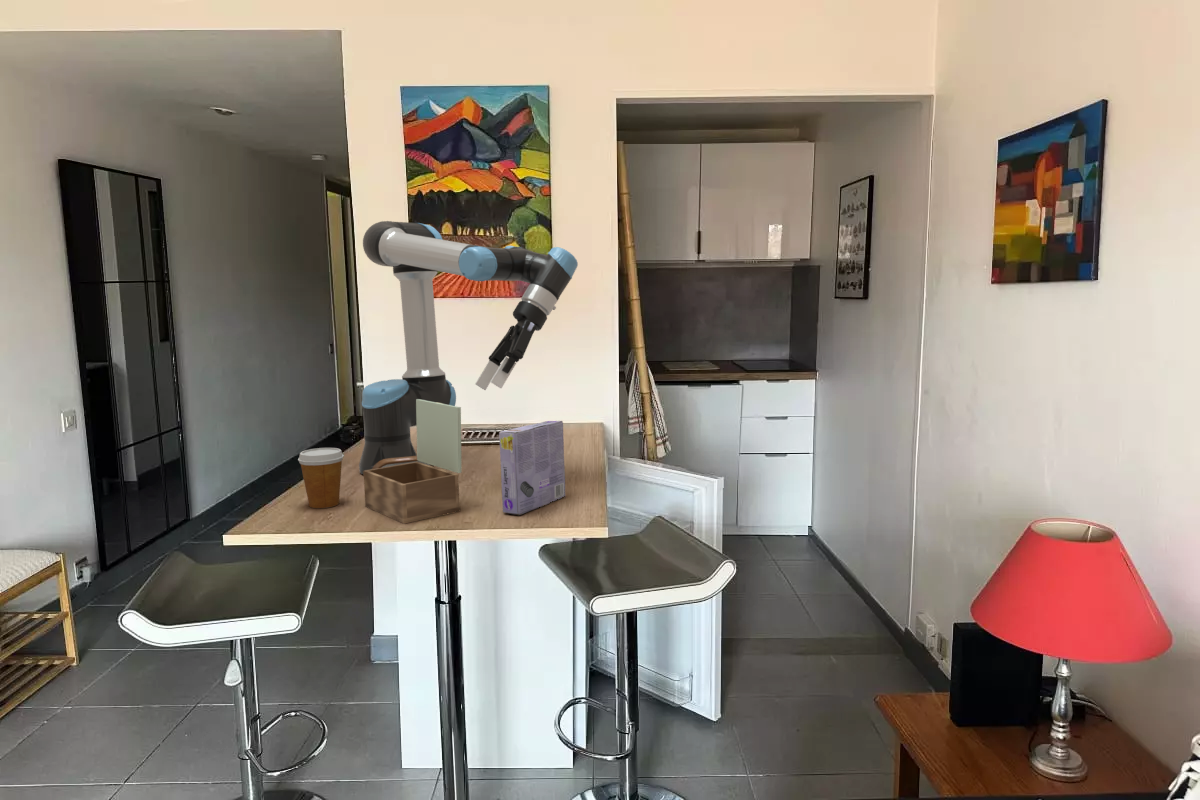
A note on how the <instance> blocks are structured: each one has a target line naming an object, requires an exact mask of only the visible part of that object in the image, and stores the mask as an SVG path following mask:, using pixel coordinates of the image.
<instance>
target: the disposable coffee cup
mask: <svg viewBox="0 0 1200 800" xmlns="http://www.w3.org/2000/svg"><path fill="white" fill-rule="evenodd" d="M344 456H345V455H344V454H343V452H342V450H341V449H340V448H337V447H319V448H318V447H317V448H310V449H306V450H303V451H301V452H299V457H298V459H297V461H298V462H299V464H300V468H301V471H302V478H303V482H304V487H305V491H306V493H305V494H306V497H307V498H306V499H307V502H308V507H310V508H311V509H312V508H313V509H327V508H332V507H336V506H338V505H339V504H340V494H341V493H340V491H341V478H342V477H341V476H342V462H343V458H344Z"/></svg>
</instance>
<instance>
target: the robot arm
mask: <svg viewBox="0 0 1200 800" xmlns="http://www.w3.org/2000/svg"><path fill="white" fill-rule="evenodd" d="M362 248H363V252H364V254H365V256H366V257H367V258H368V259H369V261H371V262H373V263H375V265H377V266H382V267H389V268H392V271H393V276H394V277H395V278H396V279H398V281H399V286H400V287H399V288H400V298H401V299H400V300H401V313H402V322H403V333H404V334H403V335H404V345H405V346H404V347H405V348H404V349H405V360H406V371H405V372H404V373H403V374H402V375H401V378H402V379H401V378H399V379H398V378H395V379H387V380H380V381H376V382H373V383H370V384H368V385H366V386H365V387H364V388H363V390H362V394H361V395H362V398H361V399H362V401H361V406H362V413H363V414H362V415H363V430H364V431H363V433H364V445H363V449H362V453H361V457H360V461H359V464H358V465H359V466H358V467H359V474H360V473H361V474H360V475H362V474H363V471H365V470H371V469H372V468H373V467H374V465H375V464H376V463H378V462H379V461H381V460H383V459H388V458H399V457H410V456H417V452H416V451H415V448H414V446H413V443H412V439H411V428H412V427H415V426H416V427H417V421H416V399H420V400H426V401H431V402H437V403H442V404H446V405H452V406H456V404H457V392H456V390H455V389H456V388H454V386H453V384H452V382H450V380H448V379H447V378H446V372H445V371H443V370H442V369H441V368H440V362H439V360H440V359H439V349H438V348H439V347H438V336H437V335H438V334H437V322H436V311H435V298H434V297H435V296H434V286H433V285H434V283H433V280H434V278H435V277H436V275H437V274H438V272H442V273H447V274H451V275H457V276H461V277H462V276H463V277H465V278H466V279H467V280H469V281H474V282H475V281H476V282H485V281H486V282H488V281H490V282H491V281H493V282H494V281H503V282H506V281H507V282H509V281H511V282H512V281H513V282H514V281H516V282H517V281H518V282H520V281H521V282H524V283H527V284H528V286H527V288H526V289H525V291H524V293H523V294H522V297H520V298H521V299H520V300H521V301H518V303H517V305H515V308H514V309H513V311H512V315H513V318H514V319H515V320H516V321H517V323H516V324H515V325H511V326H510V327H509V328H508V331H507V332H506V334H505V335H504V336H503V338H502V339H501V340H500V342H498V344H497V346H496V347H495V349H494V350H493V351H492V352H491V354H490V355H489V356H488V362H487V364H486V365H485V367H484V369H483V371H482V372H481V373H480V375H479V377H478V379H477V380H476V382H475V384H474V385H476V386H478V387H479V388H480V389H482V390H484V391H486V390H487V389H488V387H489V385H490V383H491V384H493V385H494V386H495V387H498V388H499V389H502V388H503V386H504V385H505V383H506V381H507V380H508V378H509V376H510V375H511V373H512V371H513V370H514V368H515V366H516V365H517V363H518V362H519V361H520V360H522V359H523V358H524V355H525V354H526V351H527V348H528V347H529V344H530V341H531V340H532V337H533V336H534V335H533V334H534V332H535V331H537V332H538V331H541V330H542V328H543V327H544V325H545V323H546V321H547V319H548V316H550V314H551V312H552V311H553V310H554V311H555V310H556V309H557V306H556V304H557V302H558V301H559V299H560V297H561V295H562V294H563V293H564V291H565V290H566V288H567V286H568V285H569V283H570V281H571V280H572V279H573V276H574V274H575V272H576V270H577V268H578V265H579V264H578V260H577V259H576V257H575V256H574V255H573V253H571V252H570V251H568V250H567V249H564V248H562V247H558V246H555V247H552V248H551V249H550V251H548V252H547V254H543V253H539V252H535V251H532V250H529V249H527V248H523V247H521V246H516V245H515V246H514V245H506V246H505V247H490V246H482V245H476V244H469V243H464V242H458V241H452V240H447V239H446V240H445V239H443V237H442V235H441V233H440V232H439V231H438V230H437V229H436V228H435V227H433V226H432V225H430V224H424V223H420V222H407V221H406V222H403V221H392V220H386V221H385V220H384V221H383V220H382V221H379V222H376V223H373V224H372V225H371V226H370V227H368V229H367V230H366V231H365V233H364V234H363V238H362ZM363 476H364V474H363Z"/></svg>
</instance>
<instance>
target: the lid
mask: <svg viewBox="0 0 1200 800" xmlns="http://www.w3.org/2000/svg"><path fill="white" fill-rule="evenodd" d="M416 421H417V426H416V455H417V460H418V461H421V462H424V463H427V464H430V465H434V467H436V468H439V469H442V470H445V471H449V472H452V473H455V474H461V473H462V407H461V406H457V405H455V406H452V405H446V404H442V403H437V402H431V401H426V400H420V399H416Z"/></svg>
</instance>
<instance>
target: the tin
mask: <svg viewBox="0 0 1200 800" xmlns="http://www.w3.org/2000/svg"><path fill="white" fill-rule="evenodd" d="M412 462H420V463H423V464H426V465H429V466H433V467H435V466H434V465H430V464H427V463H424V462H421V461H418V460H417V456H410V457H399V458H388V459H383V460H381V461H379V462H378V463H376V464H375V465H374V467H373V468H372V469H377V468H383V467H389V466H395V465H400V464H406V463H412Z"/></svg>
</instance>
